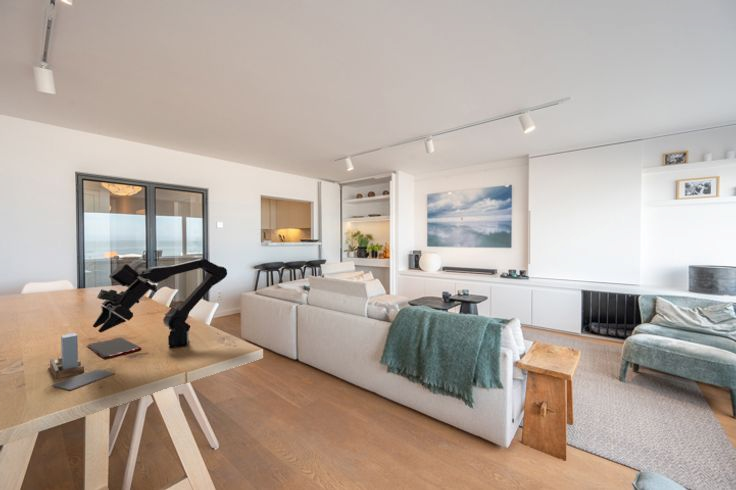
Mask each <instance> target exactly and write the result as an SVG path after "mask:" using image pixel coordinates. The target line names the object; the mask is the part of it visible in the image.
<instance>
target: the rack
mask: <svg viewBox="0 0 736 490" xmlns="http://www.w3.org/2000/svg"><path fill="white" fill-rule="evenodd" d="M55 360H58V358H56V359H53V358H52V359H50V361H49V363H50V364H49V367H50V369H51V371H52V373H53V376H54V378H55V379H56V380H57V379H61V378H65V377H69V376H72V375H77V374H80V373H85V366H84V365H82V362H81V360H79V361H78V367H74V368H70V369H66V370H62V365H60V366H57V365H56V363H55Z"/></svg>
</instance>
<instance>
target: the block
mask: <svg viewBox="0 0 736 490" xmlns="http://www.w3.org/2000/svg"><path fill="white" fill-rule="evenodd" d="M60 337H61V338H60V339H61V340H60V341H61V343H60V344H61V356H62V370H66V369H70V368H74V367H78V360H79V350H78V348H79V347H78V345H79V344H78V343H79V342H78V334H77V333H75V332H73V333H68V334H62V335H60Z"/></svg>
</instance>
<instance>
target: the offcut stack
mask: <svg viewBox="0 0 736 490" xmlns="http://www.w3.org/2000/svg"><path fill="white" fill-rule="evenodd" d="M57 359H58V360H57ZM57 359H54V360H55V363H56V365H57V366H60V365H62V355H59V356H57ZM78 361H80V360H79V359H78Z"/></svg>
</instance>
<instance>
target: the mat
mask: <svg viewBox="0 0 736 490" xmlns="http://www.w3.org/2000/svg"><path fill="white" fill-rule="evenodd" d="M115 374H116V372H113V371H111V370H110V371H109V370H108V371H107V370H106V369H105V370H104V369H100V368H99V369H98V368H96V369H92V370H91V371H87V372H83V373H82V374H79V375H76V376H72V377H70V378H68V379H64V380H60V381H58V382H55V383H53V384H52V385H51V387H54V388H58V389H62V390H67V391H73V390H76V389H79V388H82V387H85V386H86V385H89V384H92V383H96V382H97V381H100V380H102V379H104V378H107V377H110V376H113V375H115Z"/></svg>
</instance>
